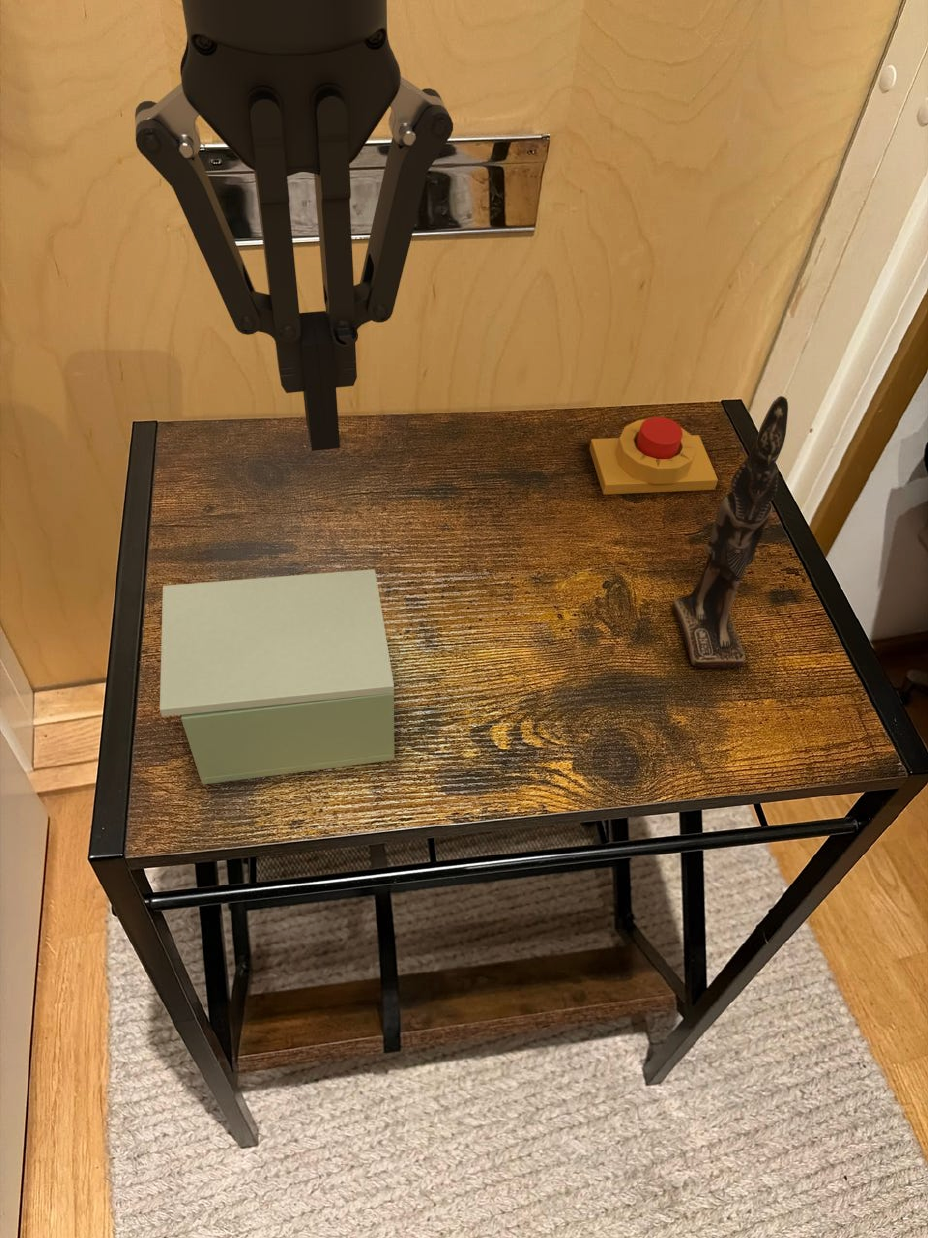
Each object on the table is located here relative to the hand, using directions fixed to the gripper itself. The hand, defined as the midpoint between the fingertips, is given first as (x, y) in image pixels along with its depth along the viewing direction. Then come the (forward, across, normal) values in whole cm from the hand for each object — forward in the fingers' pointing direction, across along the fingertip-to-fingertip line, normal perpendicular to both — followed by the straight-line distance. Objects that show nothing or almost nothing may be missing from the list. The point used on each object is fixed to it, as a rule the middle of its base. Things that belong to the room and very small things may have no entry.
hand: (322, 432), depth 51 cm
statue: (+22, -27, +2) cm, 35 cm away
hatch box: (+22, +4, +3) cm, 22 cm away
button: (+19, -30, -17) cm, 39 cm away
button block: (+22, -30, -17) cm, 41 cm away
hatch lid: (+14, +4, +3) cm, 15 cm away
